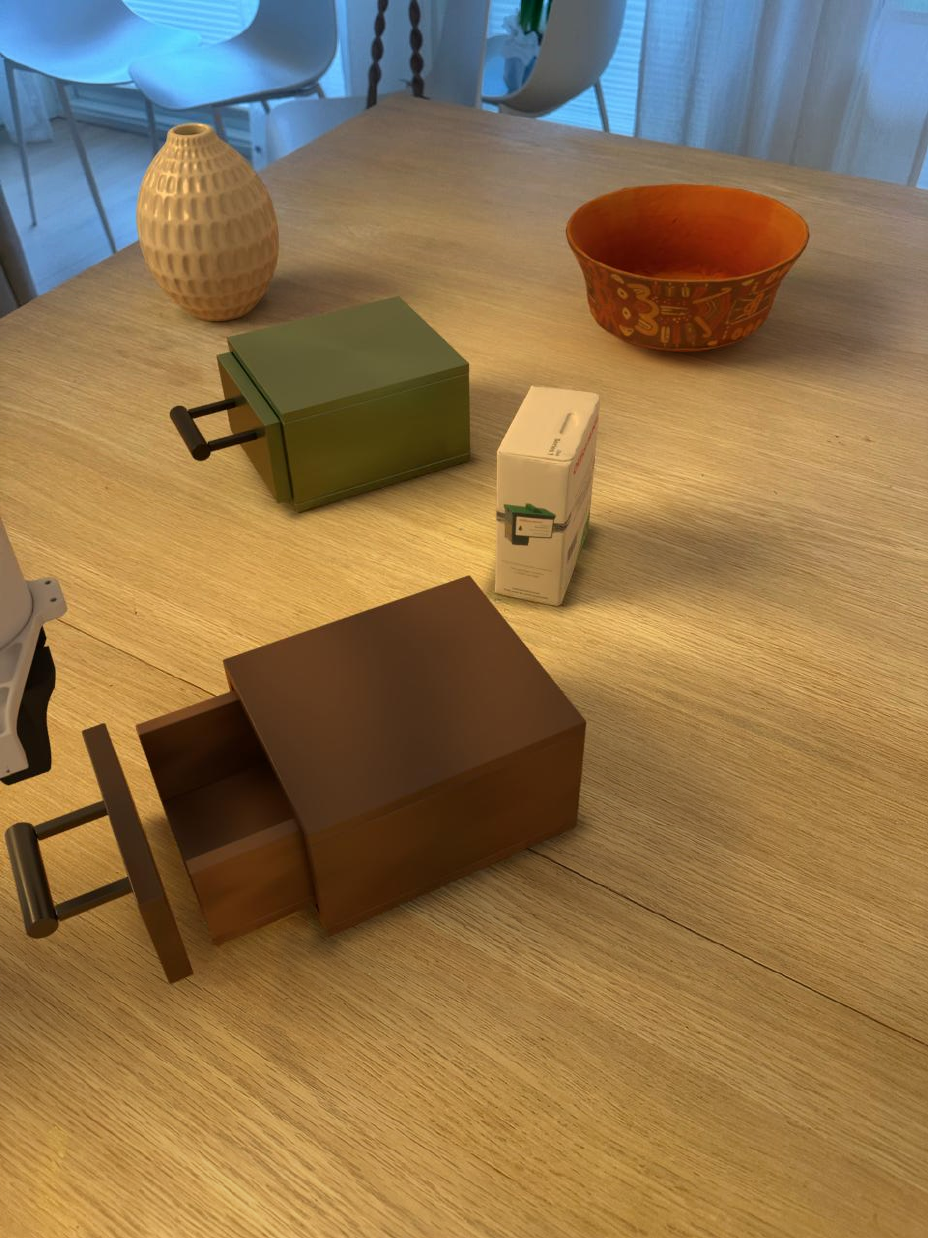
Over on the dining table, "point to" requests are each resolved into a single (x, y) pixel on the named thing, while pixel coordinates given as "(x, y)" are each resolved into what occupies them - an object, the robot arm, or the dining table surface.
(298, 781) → the brown drawer cabinet
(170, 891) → the dining table surface
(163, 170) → the vase
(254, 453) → the drawer
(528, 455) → the ink box
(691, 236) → the bowl
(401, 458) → the green drawer cabinet
